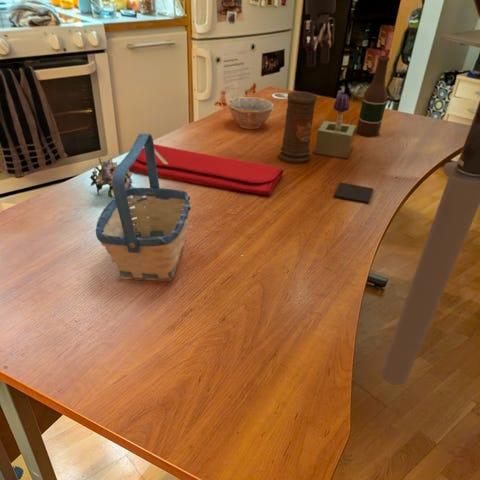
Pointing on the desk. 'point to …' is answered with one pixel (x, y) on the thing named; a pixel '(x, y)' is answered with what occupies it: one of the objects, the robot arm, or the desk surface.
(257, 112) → the bowl
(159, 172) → the dish drying mat
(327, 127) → the holder
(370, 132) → the beer bottle
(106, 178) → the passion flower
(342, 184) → the mat
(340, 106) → the toy lamp
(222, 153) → the desk surface
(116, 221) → the basket
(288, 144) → the container
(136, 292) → the desk surface
